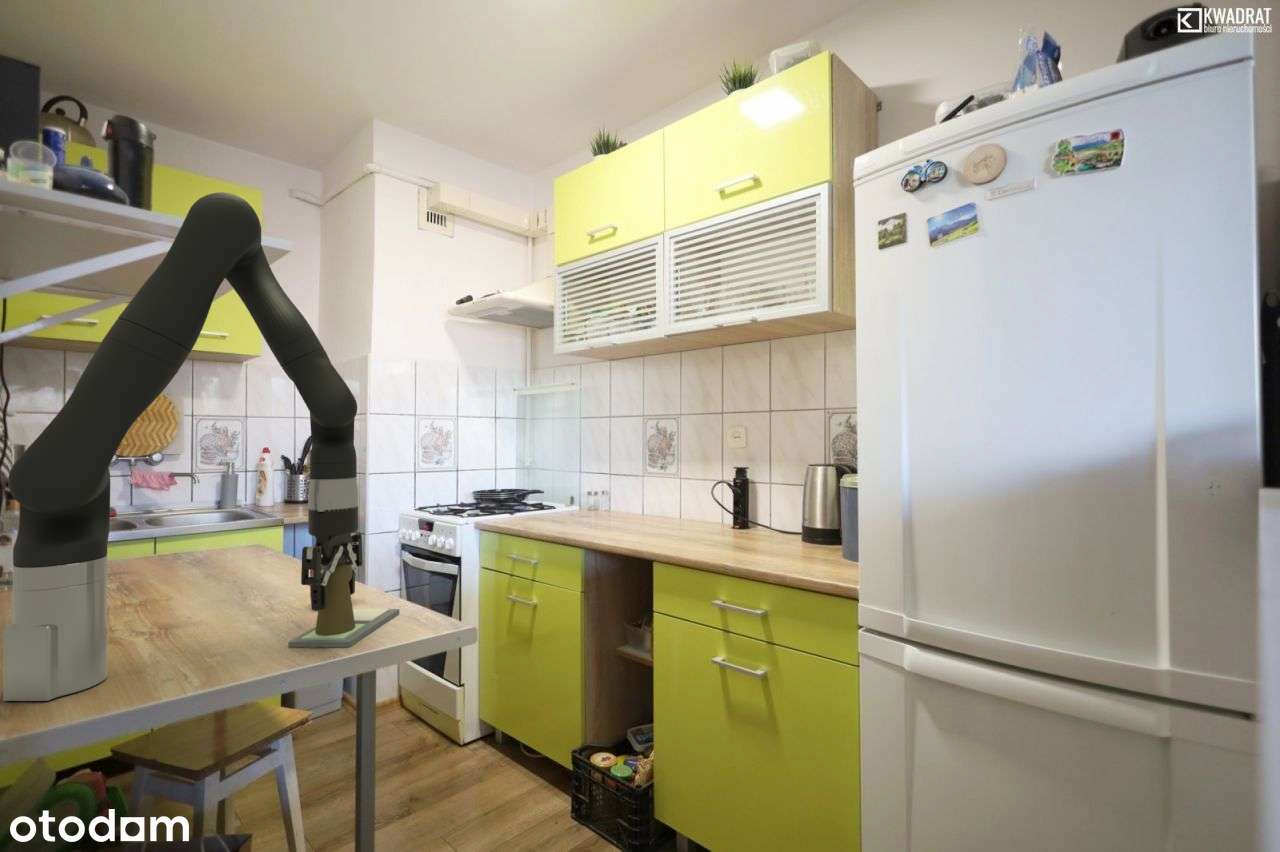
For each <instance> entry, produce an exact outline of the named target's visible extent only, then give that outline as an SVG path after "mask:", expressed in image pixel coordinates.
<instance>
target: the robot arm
mask: <svg viewBox="0 0 1280 852" xmlns="http://www.w3.org/2000/svg"><path fill="white" fill-rule="evenodd" d="M224 280H226V281H227V282H228V283H229V285H230V286H231V287H232V288H233V290H234V291H235V293H236V294H237V296H238V297H239V298H240V300H241V301H242V303H243V305H244V306H245V307H246V309H247V311H248V313H249V314H250V316H251V318H252V320H253V321H254V323H255V324H256V327H257V329H258V330H259V332H260V333H261V335H262V337H263V339H264V340H265V342H266V344H267V346H268V347H269V350H270V351H271V353H272V354H273V356H274V358H276V361H277V363H278V364H279V365H280V367H281V369H282V371H284V373H285V374H286V376H287V377H288V379H290V380H291V381H292V382H293V384H294V386H295V388H296V390H297V391H298V393H299V395H300V396H301V399H302V400H303V402H304V404H305V405H306V407H307V409H308V411H309V418H310V419H309V420H310V422H309V423H310V439H311V450H310V456H309V487H308V494H307V499H308V500H307V501H308V504H307V505H308V508H307V513H308V514H307V517H308V521H307V522H308V523H307V524H308V534H309V535H310V536H312V537H313V536H314V537H315V544H314V546H311V545H310V546H303V548H301V549H302V551H301V572H300V573H301V576H300V577H301V578H300V580H301V581H300V584H301V585H302V586H308V587H310V586H311V598H310V605H311V604H312V605H311V609H312V610H314V611H315V610H316V611H318V610H323V609H325V608H326V607H327V585H326V584H327V581H328V579H329V576H330V574H331V573H333V572H334V570H335V567H336V566H338V565H339V564H348V565H349V566H350V567H351V568H352V578H351V580H350V581H349V588H350V594H351V596H352V595H353V594H355V593H356V577H355V576H356V575H355V574H356V573H357V572H358V567H362V566H363V564H364V562H363V560H364V559H363V538H362V536H363V535H362V533H359V532H358V530H359V525H360V524H359V486H358V481H357V475H358V474H357V471H358V470H357V467H358V465H357V464H358V463H357V462H358V461H357V451H356V448H355V421H356V419H355V418H356V416H357V413H358V403H357V400H356V398H355V396H354V394H353V392H352V391H351V389H350V388H349V386H348V385H347V383H346V382H345V380H344V379H343V377H342V376H341V375H340V373H339V372H338V371H337V369H336V368H335V367H334V365H333V364H332V362H331V360H330V358H329V355H328V353H327V352H326V350H325V347H324V346H323V345H322V343H321V341H320V340H319V338H318V337H317V335H316V333H315V331H314V329H313V328H312V326H311V325H310V323H309V322H308V321H307V319H306V318H305V316H304V315H303V314H302V312H301V311H300V310H299V309H298V308H297V306H296V305H295V304H294V303H293V301H292V300H291V299H290V298H289V297H290V296H288V295H287V293H286V292H285V291H284V289H283V288H282V285H280V282H278V280H277V278H276V276H275V274H274V272H273V271H272V267H271V266H270V264H269V262H268V259H267V257H266V254H265V251H264V248H263V246H262V225H261V221H260V219H259V216H258V214H257V212H256V210H255V209H254V208H253V206H252V205H251V204H250V203H249V202H248V201H246V200H245V199H244V198H242V197H240V196H239V195H236V194H234V193H231V192H221V191H219V192H213V193H209V194H206V195H204V196H201V197H199V199H197V200H196V201H194V203H193V204H192V205H191V207H190V208H189V210H188V212H187V213H186V217H185V218H184V221H183V222H182V224H181V227H180V228H179V231H178V232H177V235H175V238H174V239H173V242H172V244H171V246H170V248H169V249H168V251H167V253H166V255H165V256H164V258H163V259H162V261H161V262H160V264H159V265H158V266H157V268H156V269H155V270H154V271H153V272H152V273H151V274H150V276H149V277H148V278H147V279H146V281H145V282H144V283H143V284H142V285H141V287H140V288H139V289H138V291H137V292H136V293H135V295H134V296H133V297H132V299H131V300H130V302H129V303H128V304H127V305H126V306H125V308H124V309H123V311H122V312H121V313H120V314H119V316H118V317H117V319H115V321H114V323H113V324H112V326H111V327H110V329H109V330H108V331H107V333H106V335H105V336H104V338H103V339H102V341H101V342H100V344H99V346H98V347H97V348H96V351H95V352H94V353H93V355H92V357H91V358H90V360H89V361H88V364H87V365H86V367H85V369H84V370H83V371H82V374H81V376H80V377H79V379H78V381H77V383H76V384H75V387H74V389H73V391H72V392H71V394H70V396H69V397H68V400H66V402H65V404H64V405H63V407H62V408H61V409H60V410H59V412H57V414H56V415H55V417H54V418H53V419H52V420H51V421H50V423H48V424H47V426H46V427H45V428H44V429H43V431H42V432H41V433H40V434H39V435H38V436H37V437H36V439H35V440H34V441H33V442H32V443H30V445H29V446H28V447H27V448H26V449H25V450H24V452H23V453H21V455H20V456H19V457H18V458H17V459H16V461H14V463H13V464H12V466H11V468H10V470H9V474H8V478H7V485H8V489H9V492H10V494H11V495H12V497H13V499H14V500H15V501H16V502H17V503H18V504H19V519H18V531H17V536H16V540H15V542H14V544H13V549H12V624H10V625H7V626H5V627H4V629H3V674H2V676H3V677H2V678H3V679H2V680H3V685H2V686H3V687H2V688H3V690H2V692H3V693H2V694H3V695H2V696H3V698H2V700H3V701H4V702H6V701H7V702H9V701H10V702H13V701H15V702H26V701H27V702H34V701H35V702H43V701H44V702H47V701H48V702H49V701H51V700H53V699H56V698H59V697H63V696H67V695H71V694H74V693H77V692H81V691H85V690H87V689H89V688H92V687H94V686H96V685H98V684H100V683H102V682H104V680H106V678H107V677H108V676H107V675H108V542H109V535H110V525H111V524H110V523H111V522H110V521H111V517H110V515H111V473H110V468H109V467H110V465H111V462H112V461H113V459H114V457H115V455H116V453H117V451H118V449H119V447H120V445H121V444H122V442H123V440H124V438H125V436H126V435H127V433H128V432H129V430H130V429H131V427H132V426H133V424H134V423H135V422H136V421H137V420H138V418H139V417H140V416H141V415H142V414H143V413H144V412H145V411H146V410H147V409H148V408H149V407H150V406H151V405H152V404H153V403H154V401H156V399H157V398H158V397H159V396H160V395H161V394H162V392H163V391H164V390H165V389H166V388H167V386H168V385H169V384H170V383H171V381H172V380H173V379H174V377H175V376H177V374H178V372H179V370H180V369H181V367H182V366H183V365H184V363H185V361H186V360H187V359H188V356H189V355H190V354H191V352H192V350H193V348H194V346H195V345H196V344H197V341H198V340H199V336H200V334H201V333H202V330H203V328H204V326H205V323H206V321H207V319H208V316H209V313H210V309H211V307H212V303H213V302H214V299H215V296H216V294H217V292H218V290H219V289H220V286H221V284H222V283H223V281H224ZM356 532H357V533H356ZM321 565H322V566H321ZM310 569H311V571H312V573H311V576H310ZM321 573H323V575H322V578H321ZM311 600H312V601H311Z"/></svg>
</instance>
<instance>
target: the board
mask: <svg viewBox="0 0 1280 852" xmlns="http://www.w3.org/2000/svg"><path fill="white" fill-rule="evenodd" d="M353 614H354V621H355V628H354V629H353V630H351V631H349V632H346V633H342V634H337V635H329V636H322V635H317V634H316V633H315V630H316V626H315V627H313V628H311V629H309V630H308V631H306V632H303V633H302V634H300V635H299V636H296V637H295V638H293V639H291V640H289V641H287V644H288V646H287V647H304V648H306V647H307V648H309V649H312V648H313V649H314V648H316V649H317V647H325V649H326V647H349V648H351V647H352V646H354V645H355V644H356V642H357V643H358V642H360V641H361V640H363V639H364V638H365V636H366V637H367V636H369V635H371V634H372V633H373V632H374V631H376V630H377V629H379V628H380V627H382V626H383V625H385V624H387V623H388V622H390V621H391V620H392V619H394V618H395V617H397V616H398V615H400V608H353ZM371 632H372V633H371ZM353 644H354V645H353ZM350 646H351V647H350Z"/></svg>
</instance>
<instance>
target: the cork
mask: <svg viewBox="0 0 1280 852" xmlns="http://www.w3.org/2000/svg"><path fill="white" fill-rule="evenodd" d="M322 575H323V573H321V578H322ZM351 578H352V568H351V567H350V566H349V565H348V564H339V565H338V566H336V567H335V570H334V572H333V573H331V574H330V576H329V579H328V581H327V584H326V585H327V607H326V608H325V609H323V610H317V618H316V624H315V627H316V630H315V633H316V634H317V635H322V636H329V635H337V634H342V633H346V632H349V631H351V630H353V629H354V628H355V621H354V614H353V609H354V608H353V603H352V597H351V596H352V595H351V594H350V588H349V581H350V580H351Z"/></svg>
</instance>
